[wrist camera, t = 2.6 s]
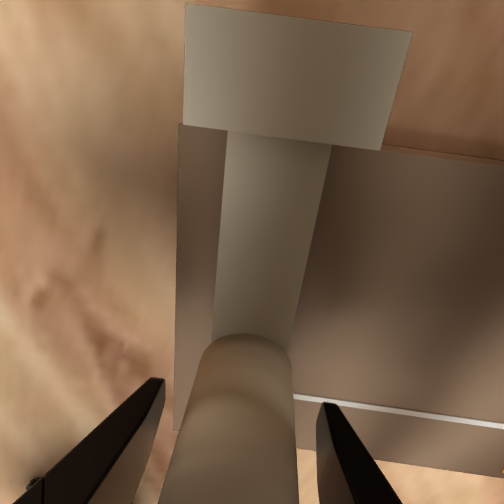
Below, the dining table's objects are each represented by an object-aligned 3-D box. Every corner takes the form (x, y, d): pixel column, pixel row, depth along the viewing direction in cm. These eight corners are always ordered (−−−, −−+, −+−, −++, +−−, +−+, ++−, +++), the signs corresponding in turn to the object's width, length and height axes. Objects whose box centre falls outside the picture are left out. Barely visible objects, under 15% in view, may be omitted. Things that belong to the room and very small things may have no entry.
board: (184, 395, 17) (172, 431, 16) (194, 119, 11) (178, 123, 10) (554, 449, 17) (587, 492, 15) (765, 195, 11) (862, 214, 9)
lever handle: (203, 361, 16) (125, 640, 8) (226, 45, 10) (10, -180, 2) (284, 373, 16) (291, 665, 8) (352, 62, 10) (678, -101, 2)
